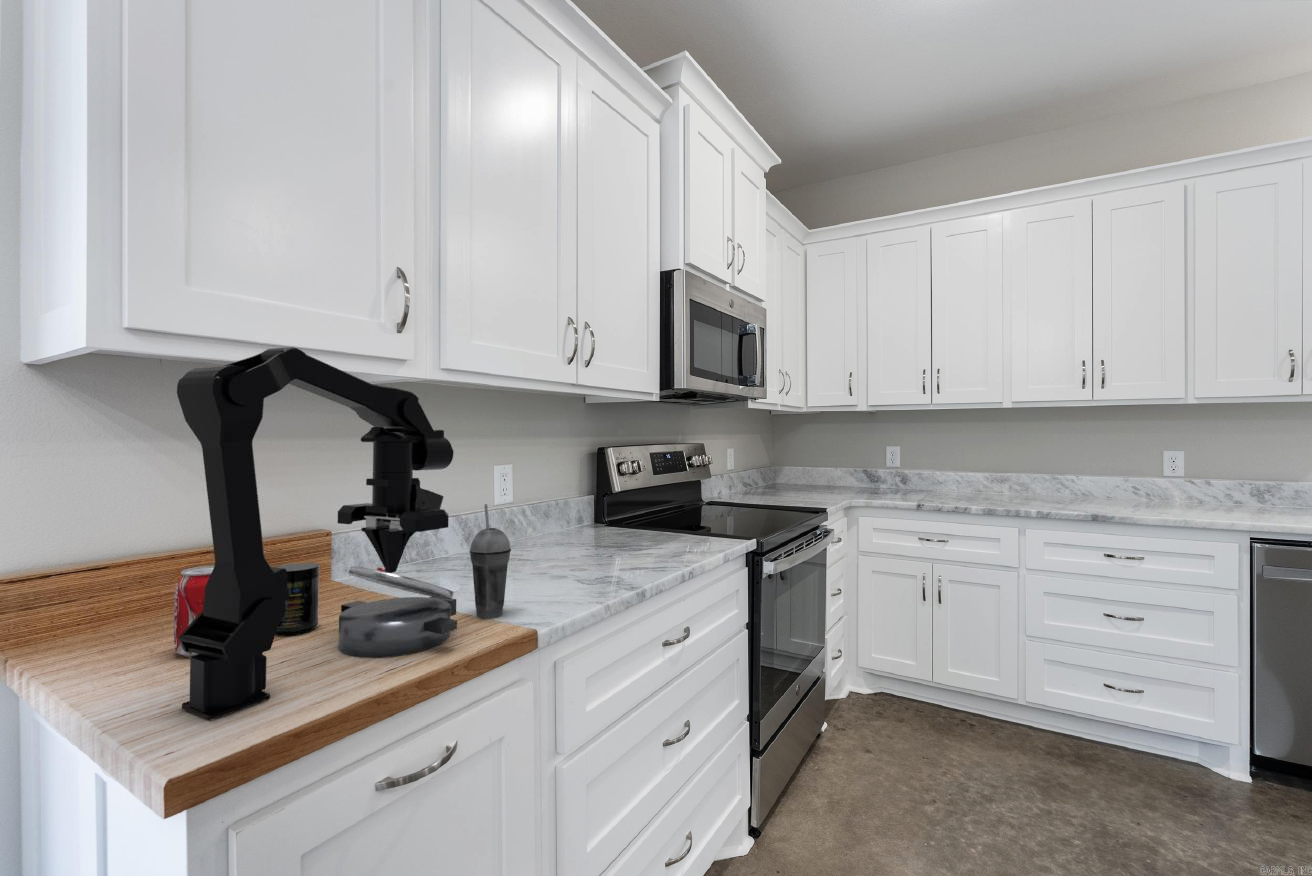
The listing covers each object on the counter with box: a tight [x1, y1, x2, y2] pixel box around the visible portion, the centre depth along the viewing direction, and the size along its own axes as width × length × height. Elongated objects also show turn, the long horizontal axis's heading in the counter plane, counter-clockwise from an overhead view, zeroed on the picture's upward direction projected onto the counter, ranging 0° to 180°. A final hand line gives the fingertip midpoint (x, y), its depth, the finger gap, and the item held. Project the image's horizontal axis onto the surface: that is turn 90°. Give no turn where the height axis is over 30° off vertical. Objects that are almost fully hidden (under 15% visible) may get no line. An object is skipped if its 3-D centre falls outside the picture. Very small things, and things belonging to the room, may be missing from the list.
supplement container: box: [275, 562, 320, 637], centre depth 96 cm, size 7×7×10 cm
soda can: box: [173, 565, 215, 658], centre depth 86 cm, size 7×7×12 cm
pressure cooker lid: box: [347, 565, 455, 599], centre depth 93 cm, size 16×16×2 cm
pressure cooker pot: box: [338, 596, 458, 659], centre depth 93 cm, size 18×23×4 cm
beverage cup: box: [468, 503, 512, 620], centre depth 106 cm, size 7×7×20 cm
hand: (391, 572), depth 91 cm, fingers closed
